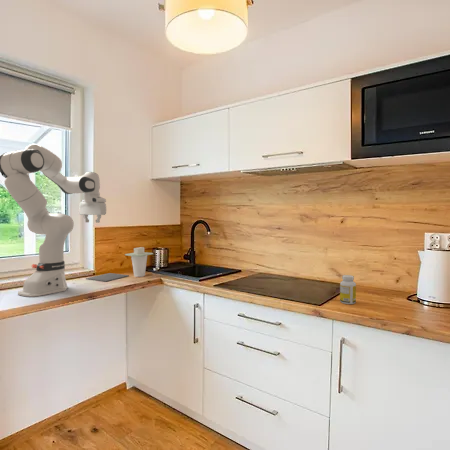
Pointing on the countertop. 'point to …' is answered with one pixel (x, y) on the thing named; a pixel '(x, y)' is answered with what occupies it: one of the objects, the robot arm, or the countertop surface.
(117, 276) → the mat
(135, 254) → the lid
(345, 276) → the pill bottle
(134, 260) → the foam cup
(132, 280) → the countertop surface
